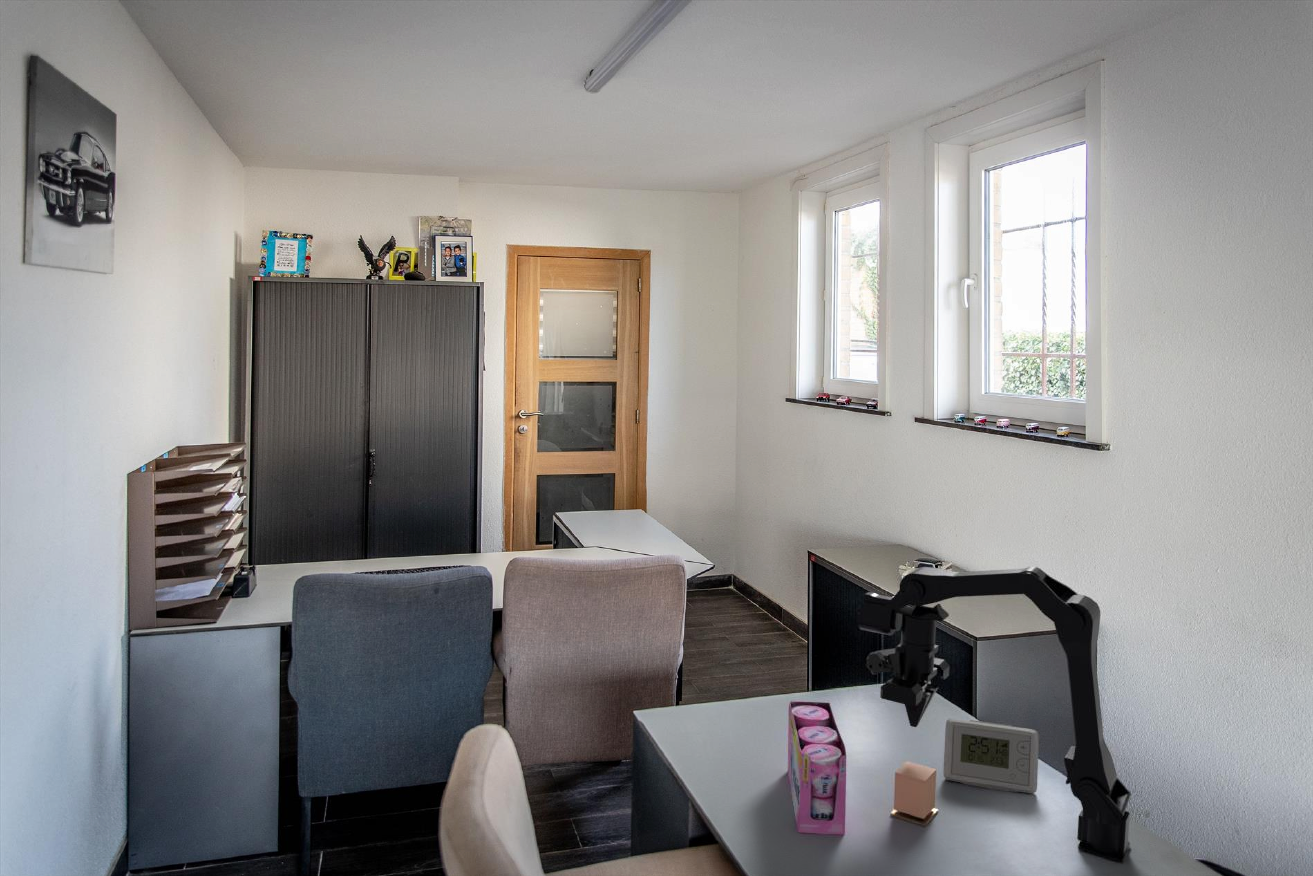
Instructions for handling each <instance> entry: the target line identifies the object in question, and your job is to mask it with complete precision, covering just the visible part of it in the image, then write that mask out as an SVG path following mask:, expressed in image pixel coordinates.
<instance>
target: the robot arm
mask: <svg viewBox="0 0 1313 876" xmlns="http://www.w3.org/2000/svg"><path fill="white" fill-rule="evenodd" d="M1009 595H1010V596H1011V595H1024V596H1026V597H1027V598H1028V599H1029V600H1030V601H1032V603H1033V604H1034V605H1035V607H1037V608H1038V610H1039V611H1040V612H1041V613H1042V614H1043V615H1044V616H1045V617H1047V618H1048V619H1049V620H1050V621H1052V622H1053V623H1054V628H1055V631H1056V635H1057V638H1058V641H1059V644H1060V645H1061V648H1062V650H1063V652H1064V654H1065V657H1066V660H1067V661H1066V663H1067V670H1068V671H1067V672H1068V681H1069V691H1070V702H1071V710H1072V721H1073V731H1074V732H1073V733H1074V740H1075V745H1071V746H1070V747H1069V749H1068V751H1067V753H1066V754H1065V756H1064V758H1063V762H1064V766H1065V770H1066V779H1065V780H1066V781H1065V785H1069V784H1070V790H1071V793H1072V795H1073V796H1074V797H1075V798H1077V800H1079V803H1080V804H1081V808H1082V810H1081V811H1080V813H1079V814H1078V817H1077V819H1078V820H1077V836H1076V837H1077V838H1076V839H1077V841H1079V843H1078V844H1077V849H1078V850H1080V851H1082V852H1086V853H1089V854H1093V855H1095V856H1099V857H1102V858H1105V859H1108V860H1112V861H1115V862H1118V863H1124V861H1125V859H1126V857H1127V855H1128V852H1129V849H1130V847H1131V843H1130V842H1129V834H1130V833H1129V831H1130V830H1129V829H1130V814H1131V813H1130V812H1129V811H1126V809H1127V808H1128V804H1129V801H1130V799H1131V796H1132V794H1131V792H1130V790H1129V789H1128V788H1127V787H1126V786H1125V785H1124V783H1122V781H1121V780H1120V779H1119V778H1118V774H1117V771H1116V767H1115V763H1114V760H1113V757H1112V755H1111V752H1110V749H1109V748H1108V746H1107V744H1106V741H1105V737H1104V730H1103V729H1104V727H1103V718H1102V708H1101V699H1100V688H1099V679H1098V668H1097V658H1096V652H1097V651H1096V650H1097V644H1098V640H1099V639H1098V638H1099V633H1100V623H1101V609H1100V606H1099V605H1098V603H1097V602H1096V601H1095V600H1093V598H1091V597H1090V596H1087V595H1085V594H1079V593H1077V592H1076V591H1075V590H1073V589H1072V588H1071V587H1069V586H1068V585H1066V584H1064V583H1062V582H1060V581H1058V580H1057V579H1055V578H1053V577H1052V576H1050V575H1049V574H1047V572H1045V571H1044V570H1042V569H1041V568H1039V567H1037V566H1028V567H1026V568H1025V567H1024V568H1012V569H1011V568H1010V569H1008V568H1007V569H994V570H992V569H991V570H974V571H960V572H958V571H951V570H948V569H944V568H939V567H937V568H936V567H930V566H929V567H928V566H922V567H918V568H916V569H914V570H912V571H911V572H909V573H908V574H906V575H904V576H903V577H902V578H901V580H900V582H899V590H898V591H897V592H896V593H895V594H894V595H893V596H886V595H883V594H882V595H881V594H878V593H875V592H872V591H868V592H866V593H864V594H863V597H862V598H863V601H862V602H861V604H860V607H859V610H858V613H857V626H858V628H859V629H860V630H862V631H867V632H871V633H877V634H883V635H887V636H893V635H894V633H896V632H898V631H900V630H901V633H900V634H901V635H900V637H901V638H900V643H899V644H898V645H896V646H895V647H894V648H888V649H880V650H877V651H872V652H870V653H869V654H868V656H867V658H866V663H865V667H866V669H869V671H870V672H871V675H872V676H874V675H879V674H880V673H881V674H882V673H888V672H892V674H893V676H892V678H890V679H888V680H887V681H886V682H885V683H883V684H882V685H881V686H880V699H881V700H887V701H890V702H893V703H899V704H902V705H904V708H905V711H906V715H907V719H908V722H909V726H910V727H913V728H917V727H918V725H920V722H921V720H922V718H923V716H924V714H925V712H926V710H928V709H927V708H928V707H929V705H930V703H931V701H932V699H933V698H934V695H935V694H936V692H937V690H939V686H938V685H937V684H933V683H931V680H932V679H933V678H934V677H935V676H936V675H937V674H939V677H940V679H941V680H946V679H947V678H948V677H949V676H950V665H949V663H948V662H947V661H946V660H945V659H942V658H938V657H935V654H937V652H939V644H938V645H936V627H937V622H943V621H944V620H946V619H948V618H949V616H950V614H949V612H948V611H946V609H944V607H942V605H941V603H939V602H942V601H946V600H949V599H953V598H962V597H963V598H964V597H965V598H966V597H982V596H983V597H984V596H985V597H986V596H989V597H990V596H1009ZM936 603H937V604H936ZM930 604H936V605H934V606H933V607H932V606H927V605H930ZM909 605H910V606H912V607H908V606H909ZM894 676H897V677H894ZM900 676H901V677H902V678H898V677H900Z"/></svg>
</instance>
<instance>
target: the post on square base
mask: <svg viewBox="0 0 1313 876" xmlns="http://www.w3.org/2000/svg"><path fill="white" fill-rule="evenodd" d="M938 813H939V809H938V808H935V807H934V808H933V809H932V810H931V811H930V813H929V814H928V815H927V816H926V817H925V818H924V819H922V818H919V817H916V816H913V815H910V814H907V813H903V812H900V811H897V810H894V809H893V810H892V811H891V812H890V814H889V815H890V816H891V817H894V818H897V819H900V820H903V821H906V822H909V823H912V824H915V825H918V826H922V827H925V828H926V826H927V825H929V823H930V822H931V821H932V820H933V818H934V817H935V816H936V815H937V814H938Z"/></svg>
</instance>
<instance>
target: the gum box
mask: <svg viewBox="0 0 1313 876" xmlns="http://www.w3.org/2000/svg"><path fill="white" fill-rule="evenodd" d="M835 719H836V718H835V716H834V713H833V710H832V706H831V702H824V701H823V702H821V701H820V702H817V701H789V703H788V725H787V726H788V731H787V775H788V782H789V787H790V793H791V799H792V805H793V810H794V817H795V818H794V819H795V822H796V828H797V832H798V833H801V834H804V833H805V834H807V833H808V834H817V835H818V834H820V835H840V836H841V835H842V836H844V835H845V834H846V810H847V809H846V807H847V805H846V804H847V803H846V801H847V799H846V798H847V751H846V749H847V748H846V745H845V743H844V740H843V738H842V735H841V732H840V731H839V728H838V725H837V722H836V720H835Z"/></svg>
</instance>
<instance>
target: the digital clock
mask: <svg viewBox="0 0 1313 876" xmlns="http://www.w3.org/2000/svg"><path fill="white" fill-rule="evenodd" d="M1038 767H1039V732H1038V731H1036V730H1035V729H1031V728H1026V727H1025V728H1024V727H1018V726H1017V727H1015V726H1014V725H1009V724H1001V723H995V722H987V721H980V720H973V719H970V720H968V719H967V720H966V719H958V718H948V719H947V720H946V721H945V733H944V752H943V771H942V772H943V777H944V779H945V780H948V781H952V782H958V783H963V784H964V785H968V786H972V787H973V786H974V787H981V788H987V789H992V788H993V789H994V790H997V791H998V790H999V791H1006V792H1012V793H1016V792H1020V793H1027V794H1035V793H1036V792H1037V791H1038V790H1037V789H1038V775H1039V773H1038V772H1039V771H1038V770H1039V768H1038ZM993 789H992V790H993Z"/></svg>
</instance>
